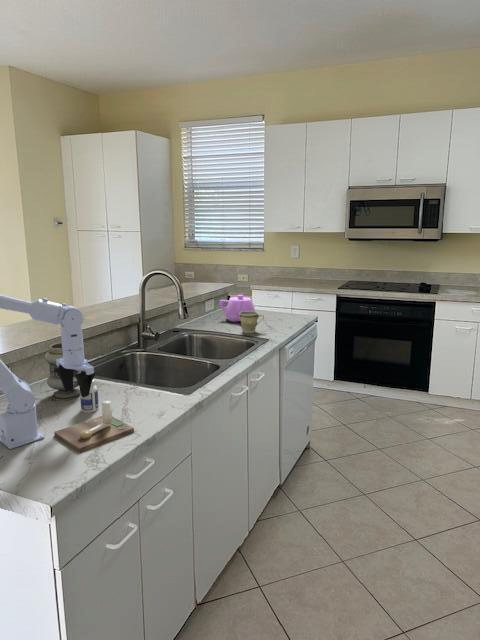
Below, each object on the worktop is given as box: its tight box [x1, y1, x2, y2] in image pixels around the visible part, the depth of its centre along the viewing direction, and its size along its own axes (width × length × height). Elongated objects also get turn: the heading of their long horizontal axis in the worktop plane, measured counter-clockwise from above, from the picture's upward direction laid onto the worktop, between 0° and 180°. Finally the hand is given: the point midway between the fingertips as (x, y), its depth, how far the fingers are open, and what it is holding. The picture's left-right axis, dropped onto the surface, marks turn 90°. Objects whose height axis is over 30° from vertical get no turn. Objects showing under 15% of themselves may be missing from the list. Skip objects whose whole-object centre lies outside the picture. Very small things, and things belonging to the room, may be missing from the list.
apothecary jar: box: [44, 341, 81, 401], centre depth 164 cm, size 12×12×18 cm
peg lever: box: [80, 400, 113, 439], centre depth 135 cm, size 11×3×7 cm, turn 149°
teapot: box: [218, 294, 256, 323], centre depth 278 cm, size 23×21×15 cm
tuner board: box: [53, 415, 135, 453], centre depth 137 cm, size 17×14×1 cm
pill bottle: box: [79, 378, 100, 413], centre depth 153 cm, size 5×5×10 cm
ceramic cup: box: [239, 311, 265, 334], centre depth 254 cm, size 13×10×10 cm
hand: (77, 393), depth 139 cm, fingers open, 7 cm apart
